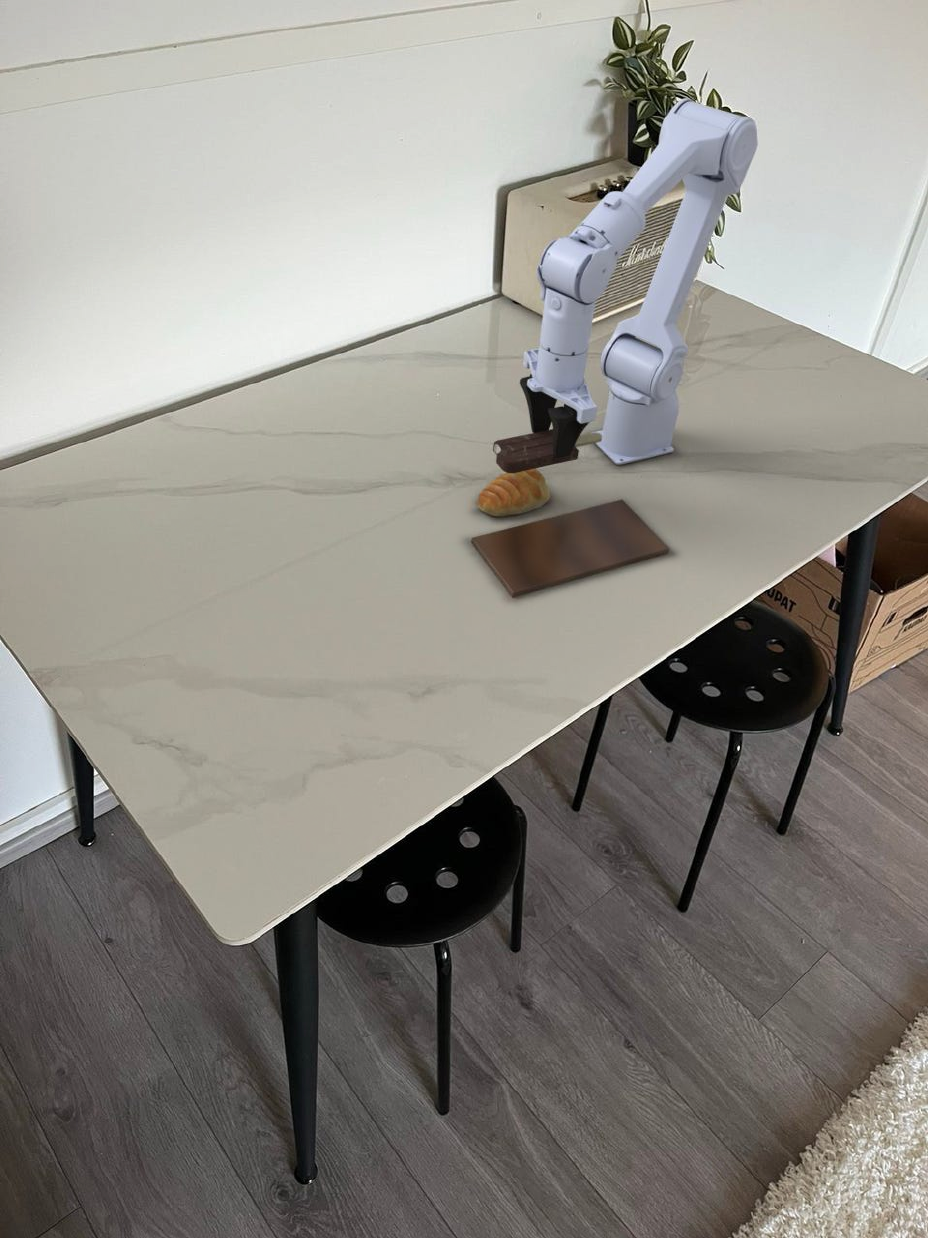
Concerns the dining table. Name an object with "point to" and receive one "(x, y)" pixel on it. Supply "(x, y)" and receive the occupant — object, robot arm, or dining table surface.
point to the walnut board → (568, 547)
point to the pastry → (514, 493)
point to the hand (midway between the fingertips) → (550, 443)
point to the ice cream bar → (535, 451)
